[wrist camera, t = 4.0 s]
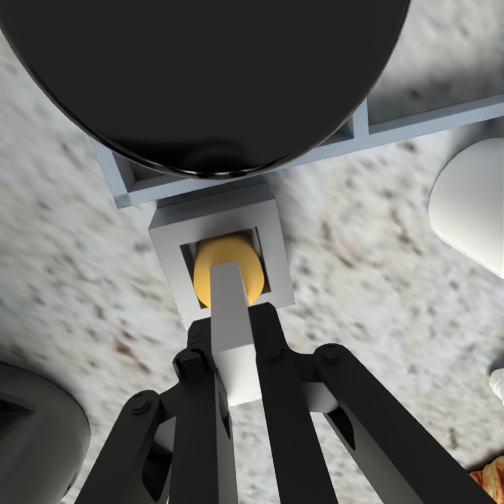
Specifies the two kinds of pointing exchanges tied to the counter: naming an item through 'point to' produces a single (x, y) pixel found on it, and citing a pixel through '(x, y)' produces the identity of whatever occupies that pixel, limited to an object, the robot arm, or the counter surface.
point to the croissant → (492, 479)
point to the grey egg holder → (215, 224)
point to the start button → (223, 252)
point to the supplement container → (205, 74)
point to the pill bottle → (472, 204)
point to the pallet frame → (345, 141)
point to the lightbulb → (497, 382)
